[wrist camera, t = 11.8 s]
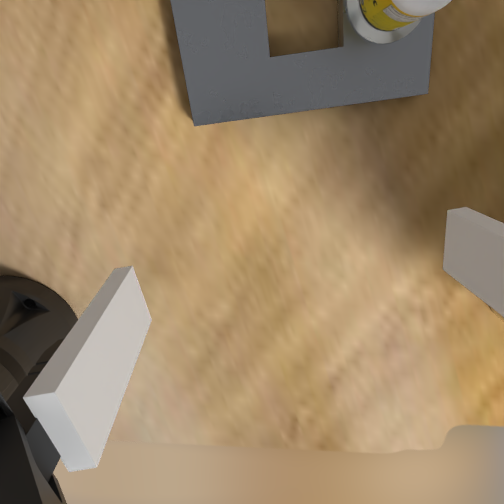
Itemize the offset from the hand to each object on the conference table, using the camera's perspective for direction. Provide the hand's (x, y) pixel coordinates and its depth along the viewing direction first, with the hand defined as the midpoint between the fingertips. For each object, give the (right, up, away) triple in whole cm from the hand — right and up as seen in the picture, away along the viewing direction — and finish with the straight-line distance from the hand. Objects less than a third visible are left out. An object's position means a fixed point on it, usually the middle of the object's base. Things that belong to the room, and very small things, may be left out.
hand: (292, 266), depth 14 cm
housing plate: (+3, +22, +15) cm, 27 cm away
